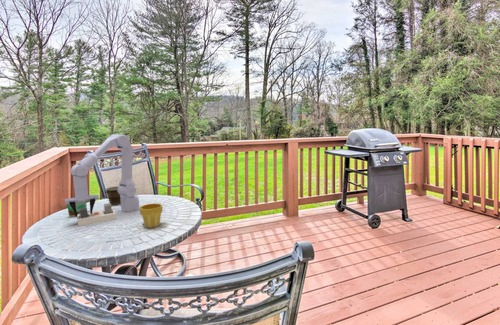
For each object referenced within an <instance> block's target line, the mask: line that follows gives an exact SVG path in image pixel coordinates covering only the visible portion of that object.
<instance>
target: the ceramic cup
mask: <svg viewBox="0 0 500 325" xmlns="http://www.w3.org/2000/svg"><path fill="white" fill-rule="evenodd" d="M117 189H118V186H111V187H106V189H105V190H104V191H103V192H101V193H102V194H101V195H102V197H104V198H106V199H107V200H108V202H109V203H110V204H111V206H119V205H121V200H120V194H119V193H118V191H117ZM104 193H106V196H105V195H104Z"/></svg>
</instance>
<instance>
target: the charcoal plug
mask: <svg viewBox="0 0 500 325" xmlns="http://www.w3.org/2000/svg"><path fill="white" fill-rule="evenodd" d="M103 209H104V211H105V214H110V213H112V209H113V208H112V205H111V204H110V202H109V203H104V204H103Z"/></svg>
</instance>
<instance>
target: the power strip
mask: <svg viewBox="0 0 500 325" xmlns="http://www.w3.org/2000/svg"><path fill="white" fill-rule="evenodd" d="M87 214H88V217H86V218H81V216H80V214H78V215H77V217H76V218H77V226H78V227H81V226H87V225H92V224H97V223H99V224H100V223H104V222H108V221H116V220H117V213H116V211H115V209H114V208H112V213H110V214H105V211H104V210H103V209H102V210H97V211H92V214H90V212H87Z"/></svg>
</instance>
